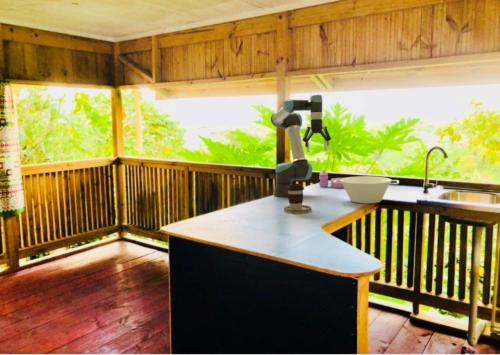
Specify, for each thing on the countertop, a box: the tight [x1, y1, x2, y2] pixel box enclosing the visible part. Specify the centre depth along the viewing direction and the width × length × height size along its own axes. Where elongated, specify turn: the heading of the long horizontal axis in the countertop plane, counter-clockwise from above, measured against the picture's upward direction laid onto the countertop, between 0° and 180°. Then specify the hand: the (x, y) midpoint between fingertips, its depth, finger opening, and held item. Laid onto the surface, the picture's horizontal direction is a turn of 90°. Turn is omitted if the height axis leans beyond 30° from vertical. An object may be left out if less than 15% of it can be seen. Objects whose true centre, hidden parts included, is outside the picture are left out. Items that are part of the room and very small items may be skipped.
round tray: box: [283, 204, 313, 215], centre depth 239 cm, size 16×16×2 cm
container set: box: [318, 170, 345, 189], centre depth 321 cm, size 25×15×13 cm, turn 68°
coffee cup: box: [287, 183, 305, 210], centre depth 237 cm, size 10×10×15 cm
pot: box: [333, 175, 400, 205], centre depth 259 cm, size 40×32×14 cm
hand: (317, 151), depth 263 cm, fingers open, 13 cm apart
